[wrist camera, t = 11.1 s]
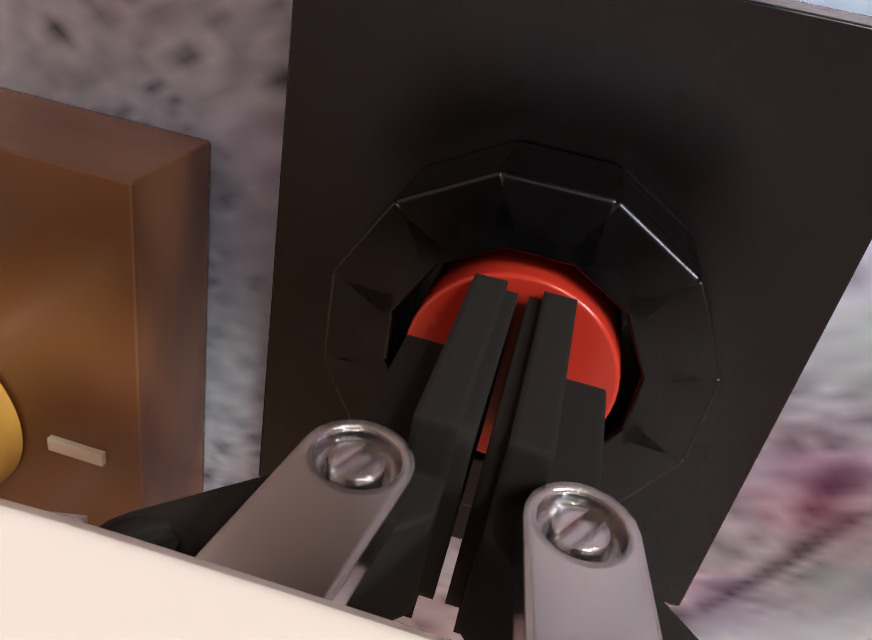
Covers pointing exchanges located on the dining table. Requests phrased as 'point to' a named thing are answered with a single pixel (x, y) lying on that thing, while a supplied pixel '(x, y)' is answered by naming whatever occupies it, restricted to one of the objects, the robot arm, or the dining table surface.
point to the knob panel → (102, 307)
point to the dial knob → (9, 436)
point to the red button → (528, 276)
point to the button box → (579, 212)
